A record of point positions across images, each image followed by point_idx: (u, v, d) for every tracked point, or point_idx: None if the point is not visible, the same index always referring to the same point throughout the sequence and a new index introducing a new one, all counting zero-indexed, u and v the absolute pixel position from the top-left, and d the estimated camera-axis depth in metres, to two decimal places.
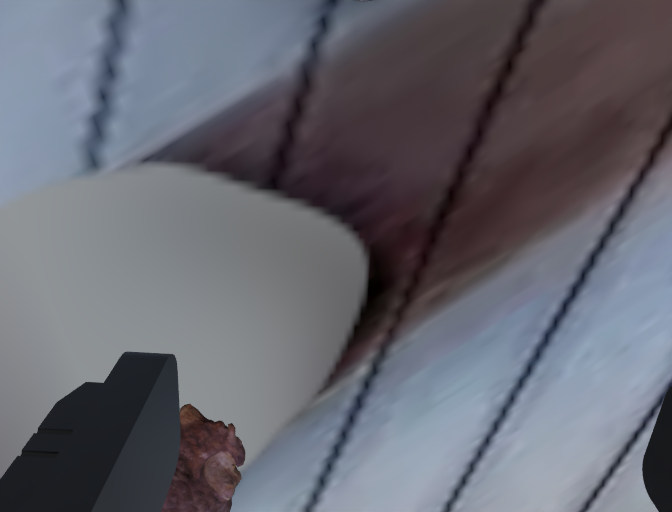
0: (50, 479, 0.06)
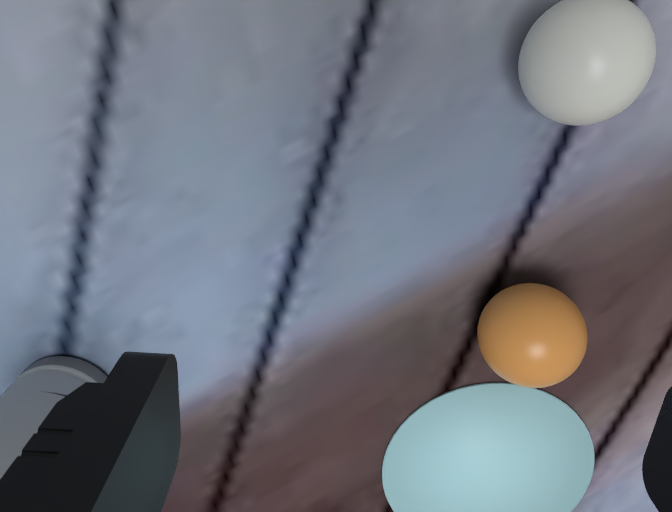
0: (50, 479, 0.06)
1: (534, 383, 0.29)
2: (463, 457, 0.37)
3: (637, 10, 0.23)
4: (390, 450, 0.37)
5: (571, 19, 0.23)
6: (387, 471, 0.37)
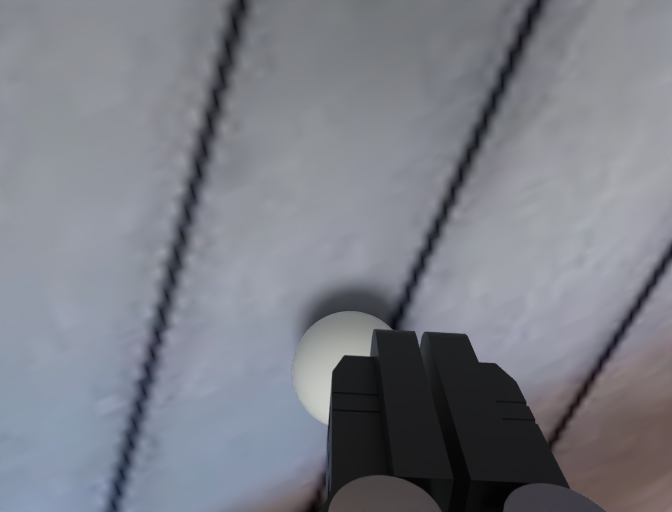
0: (395, 428, 0.07)
1: None
2: None
3: None
4: None
5: (319, 357, 0.25)
6: None
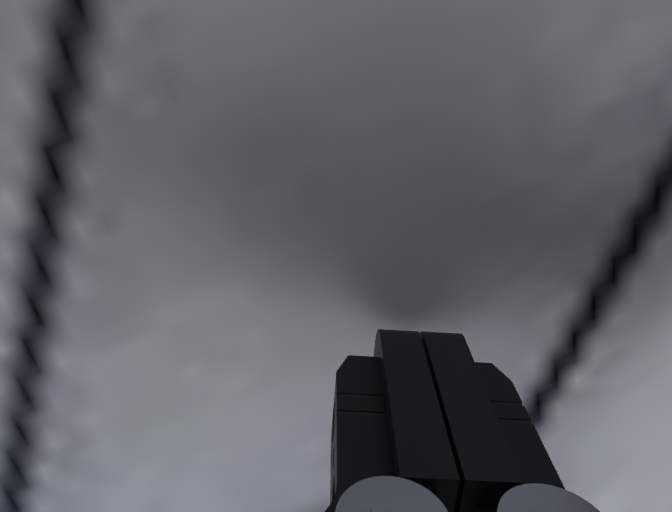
0: (401, 428, 0.07)
1: None
2: None
3: None
4: None
5: None
6: None
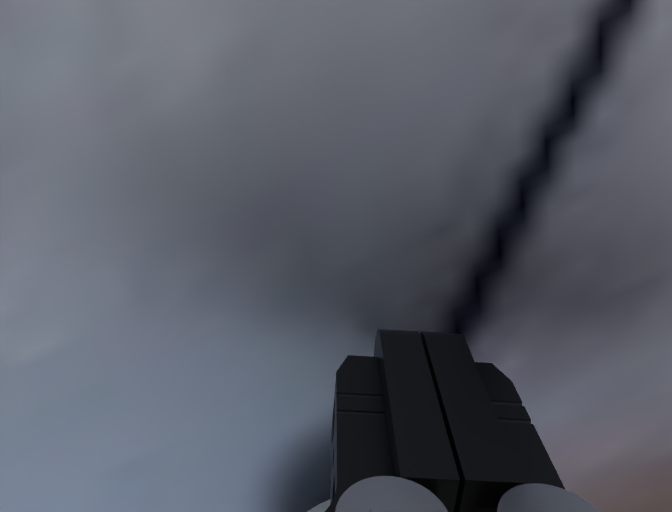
0: (401, 428, 0.07)
1: None
2: None
3: None
4: None
5: None
6: None
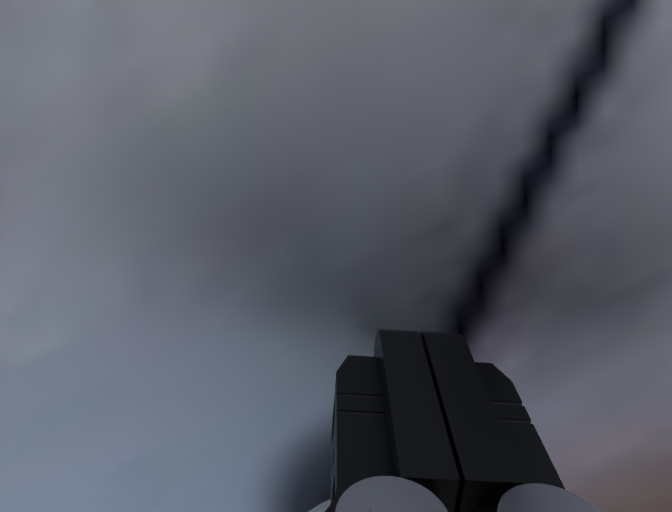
0: (400, 429, 0.07)
1: None
2: None
3: None
4: None
5: None
6: None
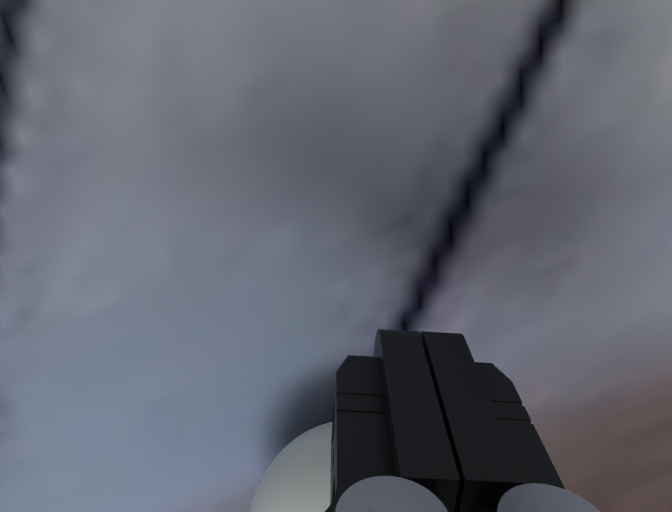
0: (401, 428, 0.07)
1: None
2: None
3: None
4: None
5: None
6: None
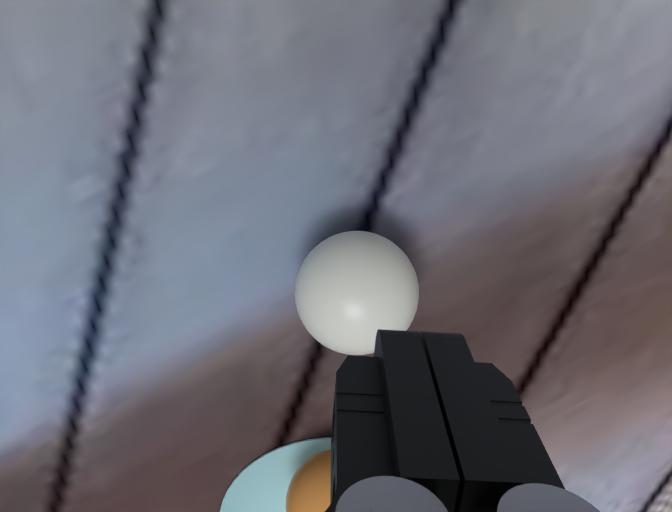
0: (400, 428, 0.07)
1: None
2: None
3: None
4: (225, 505, 0.34)
5: None
6: None
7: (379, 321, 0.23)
